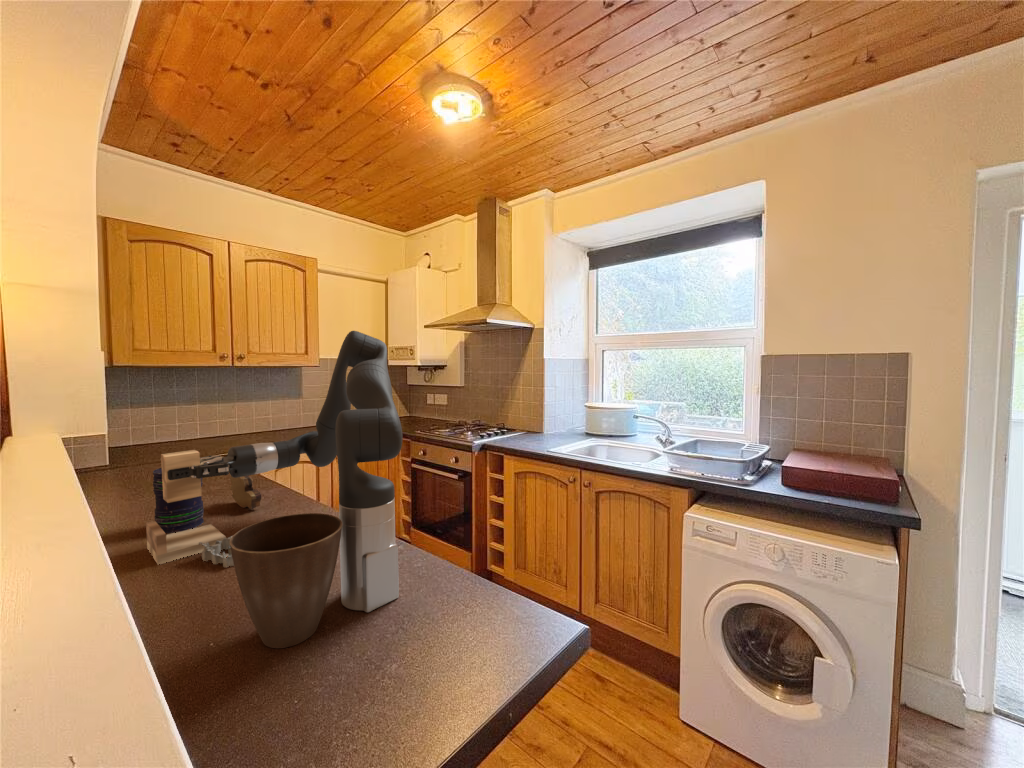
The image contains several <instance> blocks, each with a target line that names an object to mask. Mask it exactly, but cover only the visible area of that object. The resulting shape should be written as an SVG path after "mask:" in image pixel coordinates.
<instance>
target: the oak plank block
mask: <svg viewBox="0 0 1024 768" xmlns="http://www.w3.org/2000/svg"><path fill="white" fill-rule="evenodd" d="M200 455H201V453H200V451H198V450H196V449H189V450H183V451H175V452H168V453H161V454H160V461H161V463H160V464H161V468H162V483H163V499H164V500H165V501H166V502H167V503H170V502H175V501H180V500H185V499H189V498H194V497H199V496H202V494H203V493H202V487H201V478H200V479H198V478H196V477H195V478H191V476H190V477H187V478H181V479H175V480H169V479H168V474H167V472H168V470H171V469H177V468H183V467H189V468H190V466H192V465H200V458H201V457H200ZM202 497H203V496H202Z"/></svg>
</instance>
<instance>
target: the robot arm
mask: <svg viewBox="0 0 1024 768" xmlns="http://www.w3.org/2000/svg"><path fill="white" fill-rule="evenodd" d="M343 339H344V340H343V342H342V345H341V347H340V350H339V352H338V356H337V359H336V362H335V365H334V369H333V371H332V375H331V379H330V383H329V386H328V390H327V395H326V398H325V400H324V403H323V405H322V408H321V410H320V412H319V415H318V417H317V419H316V422H315V429H316V431H315V430H313V431H309V432H305V433H303V434H301V435H298V436H295V437H293V438H291V439H288V440H280V441H274V442H273V441H272V442H260V443H259V442H258V443H251V444H250V443H249V444H245V445H237V446H231V447H229V449H228V451H227V455H226V456H221V455H219V454H218V455H207V456H203V457H200V465H192V466H190V468H189V467H183V468H177V469H171V470H168V472H167V474H168V479H169V480H175V479H181V478H187V477H190V476H191V478H195V477H196V478H198V479H200V478H202V479H203V478H211V477H218V476H219V477H220V476H228V475H229V476H230V475H231V476H232V477H233V478H237V477H243V476H248V475H249V476H252V475H259V474H264V473H267V472H271V471H274V470H275V471H276V470H280V469H285V468H291V467H294V466H296V465H297V464H298V463H299V462H300V460H301V455H302V454H305V455H306V456H307V458H308V459H309V461H310V463H311V464H312V465H313V466H316V467H318V468H323V467H327V466H329V465H330V464H331V463H333V462H334V460H335V459H336V457H337V469H338V511H339V512H338V514H339V515H338V516H339V517H338V518H339V519H340V520H341V521H342V530H341V538H340V545H339V562H340V566H339V567H340V568H339V569H340V594H341V595H340V597H341V598H340V601H341V604H342V606H344V607H345V609H348V610H353V611H364V612H365V613H370V612H372V611H373V610H375V609H377V608H381V607H382V606H385V605H386V604H388V603H390V602H392V601H394V600H396V599H398V598H399V597H400V591H399V587H400V585H399V582H400V581H399V580H400V579H399V546H398V544H397V543H396V516H395V515H396V511H395V510H396V507H395V505H396V503H395V501H396V499H395V497H396V496H395V494H396V493H395V484H394V482H393V481H392V480H390V479H388V478H386V477H383V476H379V475H378V476H377V475H376V474H375V475H374V474H371V473H369V472H367V471H366V470H363V469H361V468H360V467H359V465H358V464H359V463H360V464H361V463H374V462H383V461H384V462H385V461H389V460H393V459H395V458H397V456H398V455H399V454H400V452H401V450H402V447H403V426H402V423H401V420H400V419H401V418H400V416H399V412H398V410H397V408H396V405H395V404H396V403H395V402H394V398H393V396H394V395H393V388H392V381H391V376H390V374H389V369H388V347H387V344H386V343H385V342H384V341H383V340H380V339H379V338H375V337H374V336H372V335H371V336H370V335H369V334H365V333H363V332H360V331H358V330H351V331H349V332H348V333H347V334H346V336H345V337H344V338H343ZM349 367H350V368H351V369H350V370H349V373H348V374H347V371H348V368H349ZM351 406H352V407H354V409H353V408H352V407H351Z"/></svg>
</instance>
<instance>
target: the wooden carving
mask: <svg viewBox="0 0 1024 768" xmlns="http://www.w3.org/2000/svg"><path fill="white" fill-rule="evenodd" d="M229 481H230V485H229V486H228V487H229V490H230V491H232V494H231V496H232V498H233V500H234V501H235V503H236V504H237V505H238V506H239V507H241V508H248V509H250V510H253V509H255V508H258V507H260V506H261V500H262V493H261V491H260V490H259V489H258V488H255V489H254V479H253V477H252V475H248V476H243V477H237V478H233V477H232V476H231V475H230V474H229Z"/></svg>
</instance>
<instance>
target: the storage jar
mask: <svg viewBox="0 0 1024 768" xmlns="http://www.w3.org/2000/svg"><path fill="white" fill-rule="evenodd" d="M152 475H153V481H152V487H153V490H152V491H153V494H154V495H155V498H154V499H155V508H154V520H155V521H156V523H157V524H158V525H159V526H160V527H161V529H162V530H163V531H164V532H165V533H167V534H173V533H175V532H176V533H177V532H181V531H185V530H188V529H192V528H197V526H198V527H200V526H202V523H204V512H205V511H204V501H203V500H202V499H203V498H202V497H203V496H199V497H194V498H189V499H185V500H180V501H175V502H170V503H167V502H166V501H165V500H164V499H163V483H162V467H160V468H156V469H155V470H153V471H152ZM201 488H203V478H201ZM199 525H200V526H199Z"/></svg>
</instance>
